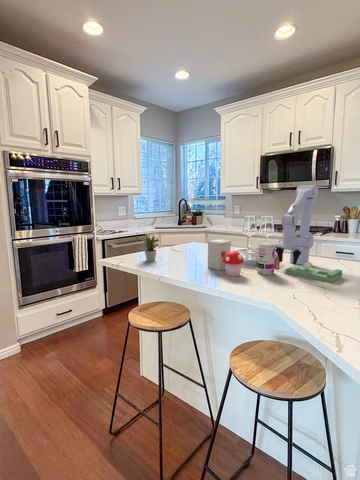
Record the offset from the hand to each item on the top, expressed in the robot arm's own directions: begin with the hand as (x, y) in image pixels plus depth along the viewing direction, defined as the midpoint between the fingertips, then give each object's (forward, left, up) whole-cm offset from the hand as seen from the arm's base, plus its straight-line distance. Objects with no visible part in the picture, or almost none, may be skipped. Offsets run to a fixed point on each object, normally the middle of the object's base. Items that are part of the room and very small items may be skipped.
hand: (287, 263), depth 143 cm
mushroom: (-15, -27, -4) cm, 31 cm away
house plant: (-67, -39, -4) cm, 78 cm away
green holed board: (+13, 0, -4) cm, 14 cm away
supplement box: (-28, -22, -4) cm, 36 cm away
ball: (+10, 0, 0) cm, 10 cm away
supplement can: (-5, -13, -4) cm, 14 cm away
